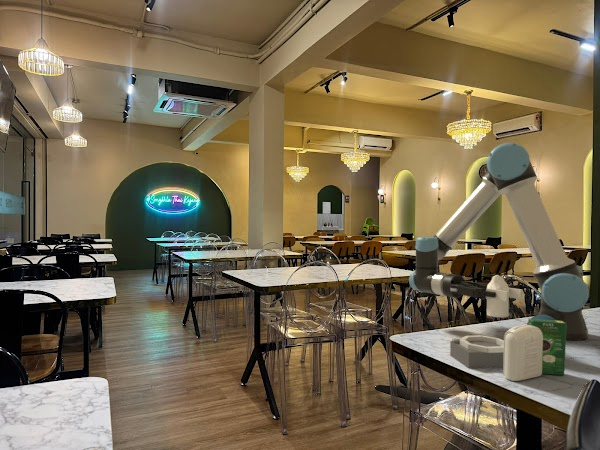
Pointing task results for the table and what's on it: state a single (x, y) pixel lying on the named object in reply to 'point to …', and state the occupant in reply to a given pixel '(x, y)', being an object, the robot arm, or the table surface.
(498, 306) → the cream tapered cylinder
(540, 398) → the table surface
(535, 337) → the photo printer
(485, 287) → the robot arm
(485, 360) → the octagonal hole block
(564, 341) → the coffee box
